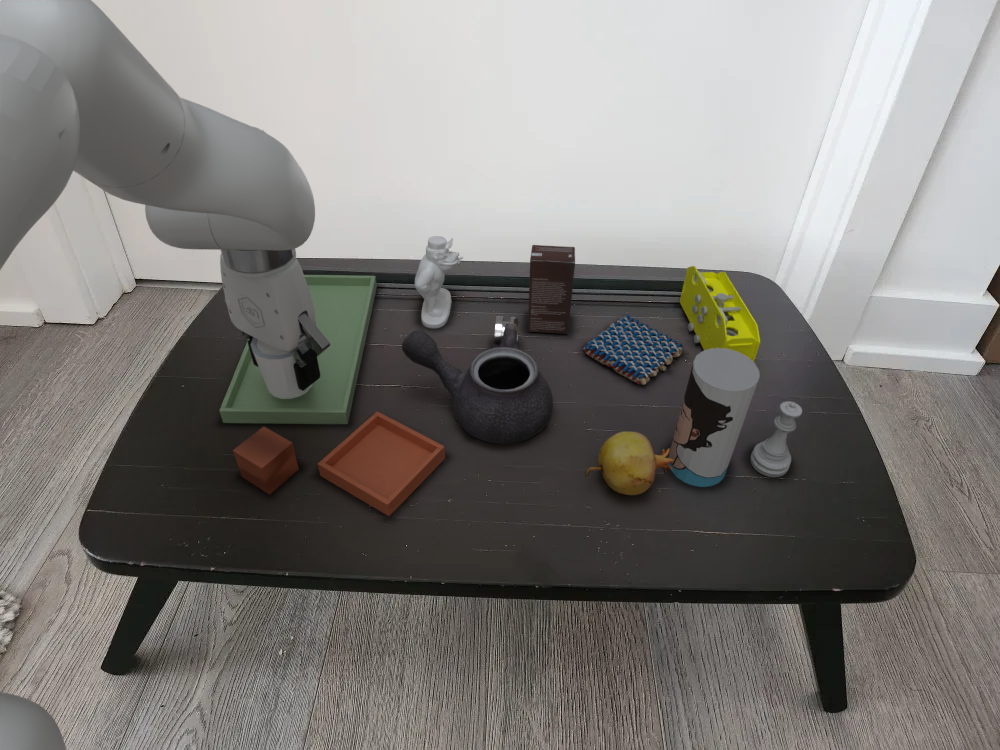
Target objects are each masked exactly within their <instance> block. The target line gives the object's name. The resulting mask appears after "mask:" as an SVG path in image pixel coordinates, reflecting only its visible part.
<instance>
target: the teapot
mask: <svg viewBox="0 0 1000 750" xmlns="http://www.w3.org/2000/svg"><path fill="white" fill-rule="evenodd" d="M437 345H438V344H437V342H436V341H435V339H434V338H433V337H432V336H431V335H430V334H428V333H427V332H425V331H424V330H421V329H416V330H413V331H411V332H410V333H409V334H407V336H406V337H405V338H404V339H403V341H402V344H401V350H402V352H403V354H404V356H406V358H408V359H409V360H410V361H411V362H412V363H414V364H417V365H419V366H422V367H424V368H427V369H429V370H432V371H433V372H434V373H435V374H436V375H438V377H439V379H440V380H441V382H442V384H443V386H444V388H445V389H446V391H447V392H448V393H449V394H450V396H451V398H452V399H451V400H452V411H453V415H454V418H455V419H456V422H457V423H458V424H459V425H460V427H461V428H462V429H463V430H464V431H465V432H466V433H468V434H469V435H470V436H472V437H474V438H476V439H478V440H481V441H484V442H487V443H492V444H513V443H518V442H522V441H525V440H528V439H530V438H532V437H534V436H536V435H537V434H539V433H540V432H541V431H542V430H543V429H544V428H545V427H546V426H547V425H548V423H549V422H550V419H551V416H552V413H553V409H554V400H553V399H554V398H553V394H552V391H551V388H550V386H549V384H548V382H547V380H546V379H545V377H544V375H543V373H542V372H541V371H540V370H539V365H538V363H537V361H536V359H535V358H534V357H533V356H531V355H530V354H529V353H528V352H526V351H524V350H522V349H520V347H519V343H518V339H517V333H516V326H515V325H514V324H506V325H505V329H504V333H503V337H502V341H501V343H500V346H499V347H497V348H494V347H492V348H488V349H485V350H483V351H481V352H480V353H478V354H476V355H475V356H474V357H473V358H472V360H471V362H470V364H469V368H468V369H467V370H466V371H462V370H461V369H459V368H457V367H455V366H452V365H451V364H450V363H448V362H447V361H446V360H445V359H444V358H443V356H442V354H441V352H440V350H439V347H438V346H437Z"/></svg>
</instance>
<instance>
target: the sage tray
mask: <svg viewBox="0 0 1000 750" xmlns="http://www.w3.org/2000/svg"><path fill="white" fill-rule="evenodd" d="M304 277H305V279H306V283H307V286H308V289H309V292H310V296H311V300H312V304H313V308H314V313H315V318H316V327H317V328H318V329H319V330H320V331H321V333H322V334H323V335H324V336H325V337H326V339H327V340H328V341H329V342H330V347H329V348H327V349H326V350H325V351H324V352H323V353H322V354H320V355H319V356H318V357H317V360H318V365H319V370H320V378H319V379H318V380H317V381H315V382H314V383H313V384H312V387H311V388H310V389H309V391H308V392H306V393H305V394H303V395H301V396H299V397H296V398H292V399H281V398H277V397H274V396H273V395H272V394H270V393H269V391H268V389H267V386H266V384H265V381H264V379H263V376H262V374H261V371H260V369H259V366H258V367H257V366H255V365H254V364H253V360H252V356H251V353H250V349H249V345H248V342H247V341H248V340H249V339H247V341H246V344H245V346H244V349H243V351H242V352H241V355H240V358H239V361H238V364H237V366H236V367H235V371H234V372H233V373H234V374H233V376H232V378H231V381H230V383H229V385H228V388H227V391H226V393H225V395H224V398H223V400H222V403H221V405H220V408H219V414H220V417H221V420H222V423H223V424H275V425H276V424H277V425H279V424H281V425H282V424H283V425H285V424H286V425H288V424H289V425H348V424H349V421H350V415H351V411H352V406H353V401H354V398H355V392H356V387H357V382H358V379H359V373H360V368H361V364H362V359H363V355H364V354H363V353H364V348H365V345H366V341H367V335H368V330H369V326H370V322H371V316H372V311H373V307H374V302H375V297H376V294H377V293H376V292H377V288H378V285H377V277H376V275H347V274H346V275H345V274H343V275H342V274H341V275H340V274H304Z"/></svg>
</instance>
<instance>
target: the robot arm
mask: <svg viewBox="0 0 1000 750" xmlns="http://www.w3.org/2000/svg"><path fill="white" fill-rule="evenodd" d="M73 172H75V173H76V174H78V175H79V176H81V178H84V179H85V180H87V181H89V182H90V183H92V184H93V185H95V186H97V187H98V188H99V189H101V190H102V191H104V192H105V193H106V194H109V195H111V196H112V197H113V196H114V197H116V198H119V199H120V200H124V201H127V202H130V203H134V204H139V205H143V206H144V213H145V218H146V223H147V224H148V228H149V230H150V231H151V233H152V234H153V235H154V236H155V238H157V239H158V240H159V241H160V242H161V243H163V244H165V245H167V246H169V247H173V248H176V249H182V250H183V249H184V250H210V251H211V250H212V251H214V250H215V251H217V250H219V251H220V257H219V267H220V278H221V283H222V290H223V293H224V294H223V295H224V303H225V305H226V308H227V311H228V315H229V319H230V321H231V323H232V325H233V326H234V327H235V328H236V329H238V330H240V331H241V335H242V336H243V337H244V338H245V339H246V340H247V341H246V343H247V342H248V345H249V349H250V353H251V356H252V360H253V364H254V365H255V366H257V367H258V364H257V361H256V359H255V356H254V354H253V351H252V348H251V342H252V339H253V337H254V338H256V339H258V340H260V341H262V342H264V343H266V344H268V345H270V346H272V347H274V348H276V349H279V350H281V351H285V352H291V354H292V356H293V357H294V359H295V361H296V363H295V364H294V365H293V367H294V371H295V376H296V380H297V385H298V388H299V389H300V390H302V391H304V390H305V389H306V388H308V387H309V386H310V385H312V384H313V383H314V382H315V381H317V380H318V379H319V378H320V370H319V365H318V360H317V357H318V356H319V355H320V354H322V353H323V352H324V351H325V350H326V349H327V348H329V347H330V342H329V341H328V340H327V339H326V337H325V336H324V335H323V334H322V333H321V331H320V330H319V329H318V328H317V327H316V318H315V313H314V308H313V304H312V300H311V296H310V292H309V289H308V286H307V283H306V279H305V277H304V275H305V274H304V272H303V271H304V270H303V269H302V266H301V263H300V262H299V260H298V259H297V250H296V249H297V248H299V247H302V246H303V245H304V244H305V243H306V242H307V241H308V239H309V238H310V236H311V235H312V232H313V230H314V225H315V220H316V219H315V218H316V206H315V205H316V204H315V199H314V194H313V191H312V188H311V185H310V183H309V180H308V178H307V176H306V174H305V172H304V171H303V168H302V167H301V165H300V164H299V163H298V161H297V160H296V158H295V157H294V156H293V154H292V153H291V152H290V150H289V149H288V148H287V146H285V145H284V144H283V143H282V142H281V141H279V140H278V139H276V138H275V137H273V136H272V135H270V134H269V133H267V132H266V131H264V130H263V129H260V128H258V127H256V126H252V125H249V124H247V123H244V122H242V121H239V120H237V119H235V118H232V117H230V116H228V115H225V114H223V113H221V112H219V111H216V110H214V109H212V108H210V107H207V106H205V105H202V104H199V103H197V102H194V101H191V100H189V99H186V98H184V97H181V96H180V95H179V94H178V93H177V91H175V89H174V88H173V86H171V84H170V83H168V81H167V80H166V79H164V77H163V76H162V75H161V74H160V73H159V72H158V70H157V69H155V67H154V66H153V65H152V64H151V63H150V62H149V61H148V59H146V57H145V56H144V55H143V54H142V53H141V51H139V50H138V48H136V46H135V45H134V44H133V43H132V42H131V41H130V39H129V38H128V37H127V36H126V34H124V33H123V32H122V30H120V29H119V27H118V26H117V25H116V24H115V23H114V22H113V21H112V20H111V19H110V17H109V16H108V15H107V14H106V13H105V12H104V11H103V10H102V9H101V8H100V7H99V6H98V5H97V4H96V3H95V2H94V1H93V0H0V271H1V270H2V269H3V268H4V266H5V264H6V262H7V261H8V259H9V258H10V256H11V255H12V253H14V250H15V249H16V247H17V246H18V245H19V244H20V242H22V240H23V239H24V237H25V236H26V235H27V234H28V233H29V232H30V230H31V229H32V228H33V227H34V226H35V224H37V222H38V221H40V219H41V218H42V217H43V216H44V215H45V214H46V213H47V212H48V211H49V210H50V209H51V208H52V207H53V205H54V204H55V203H56V202H57V200H58V199H59V198H60V196H61V195H62V194H63V192H64V190H65V189H66V187H67V185H68V183H69V181H70V179H71V176H72V174H73ZM300 333H301V334H300ZM248 339H249V340H248ZM303 341H304V343H305V344H306V346H307V348H308V351H306V352H305V353H303V354H302V353H301V351H300V349H299V348H298V345H299V344H300V343H302V342H303ZM0 750H67V746H66V743H65V740H64V736H63V735H62V732H61V730H60V727H59V726H58V724H57V722H56V720H55V718H54V716H52V714H50V713H49V712H48V711H47V710H46V709H45V708H44V707H43V706H41V704H38V703H37V702H35V701H33V700H31V699H28V698H26V697H23V696H21V695H16V694H14V693H13V694H12V693H8V692H4V691H0Z"/></svg>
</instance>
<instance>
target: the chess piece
mask: <svg viewBox="0 0 1000 750" xmlns="http://www.w3.org/2000/svg"><path fill="white" fill-rule="evenodd" d="M779 411H780V413H781V415H778V416H776V417H775V418H774V420H773V426H774V427H775V431H774V432H773V434H772V435H771V437H769V438H766V439H765V440H764V441H761V442H760V443H759V442H758V443H757V444H756V445H755V446H754V448H753V450H752V451H751V454H750V457H749V460H750V464H751V466H752V467H753V469H754V470H755V471H757V472H758V473H759V474H761V475H762V476H766V477H770V478H780V477H782V476H784V475H786V474H787V472H788V471H789V469H790V466H791V463H792V455H791V453H790V451H789V447H788V445H787V439H788V438H787V437H788V434H791V433H793V432H795V430H796V428H797V422H796V421H795V419H797V418H799V417H801V415H803V414H802V413H803V408H802V407H801V406H800V405H799V404H798V403H796V402H795V401H790V400H789V401H787V400H786V401H783V402H782V403H780V405H779Z"/></svg>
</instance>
